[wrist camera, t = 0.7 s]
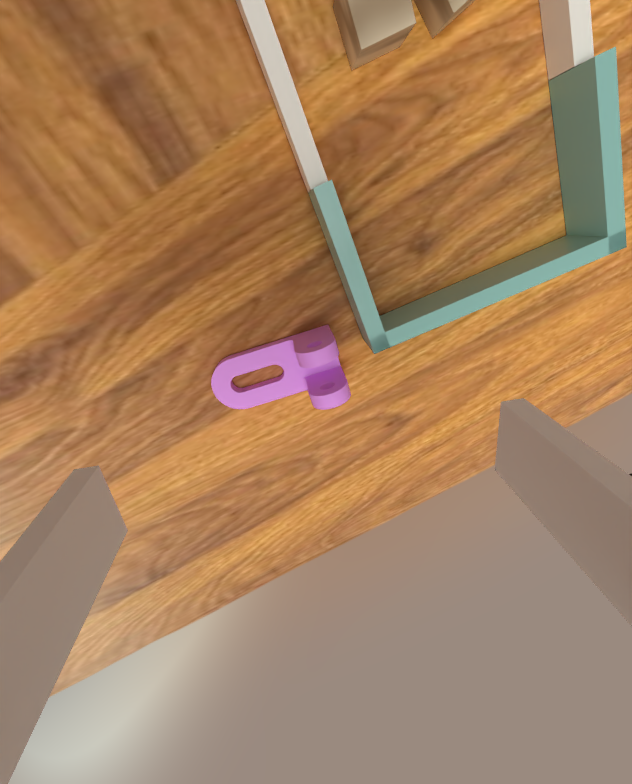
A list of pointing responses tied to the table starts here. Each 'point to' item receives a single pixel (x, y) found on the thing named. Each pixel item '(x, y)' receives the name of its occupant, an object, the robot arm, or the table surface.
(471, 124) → the table surface
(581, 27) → the channel
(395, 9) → the chip
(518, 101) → the table surface
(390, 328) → the bay
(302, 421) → the table surface
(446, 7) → the chip
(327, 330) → the bracket
